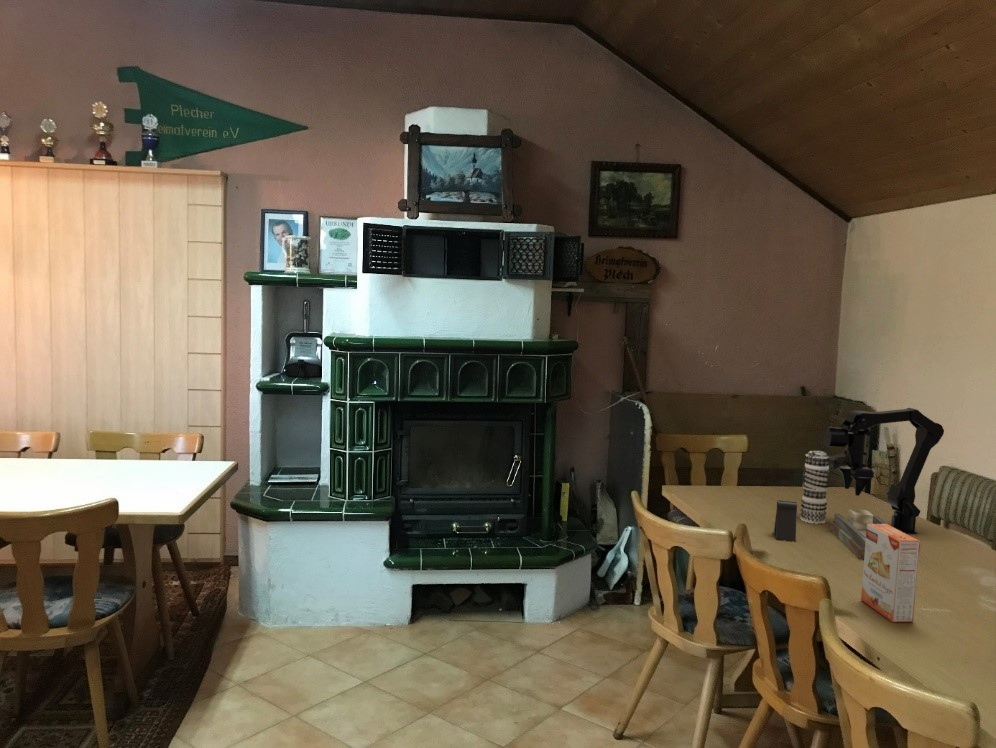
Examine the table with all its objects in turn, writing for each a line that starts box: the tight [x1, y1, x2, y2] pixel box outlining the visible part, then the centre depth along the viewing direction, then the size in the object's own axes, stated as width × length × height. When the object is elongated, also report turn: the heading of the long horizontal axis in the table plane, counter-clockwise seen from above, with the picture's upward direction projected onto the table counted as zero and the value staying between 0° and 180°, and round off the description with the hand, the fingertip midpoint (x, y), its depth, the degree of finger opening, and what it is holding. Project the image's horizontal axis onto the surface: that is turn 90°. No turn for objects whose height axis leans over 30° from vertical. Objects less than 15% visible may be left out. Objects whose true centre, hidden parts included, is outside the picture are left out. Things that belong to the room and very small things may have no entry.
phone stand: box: [773, 499, 798, 543], centre depth 253 cm, size 9×6×12 cm, turn 164°
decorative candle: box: [799, 450, 831, 525], centre depth 273 cm, size 9×9×25 cm
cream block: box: [847, 508, 874, 530], centre depth 257 cm, size 6×6×5 cm
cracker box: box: [860, 523, 921, 623], centre depth 192 cm, size 14×6×21 cm, turn 5°
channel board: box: [829, 513, 890, 560], centre depth 247 cm, size 16×31×6 cm, turn 173°
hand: (851, 492), depth 264 cm, fingers open, 9 cm apart
